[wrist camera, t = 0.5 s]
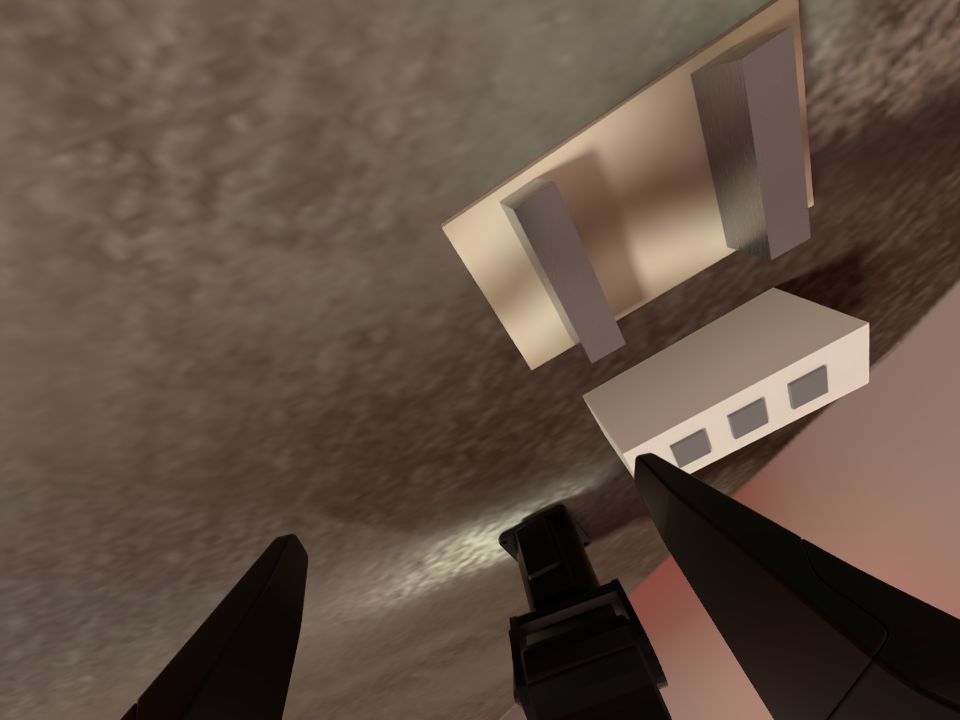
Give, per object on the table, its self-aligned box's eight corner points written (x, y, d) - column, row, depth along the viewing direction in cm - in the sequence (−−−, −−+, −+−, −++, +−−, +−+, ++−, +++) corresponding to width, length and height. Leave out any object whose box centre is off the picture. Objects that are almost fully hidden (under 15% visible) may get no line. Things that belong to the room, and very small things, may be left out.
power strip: (779, 337, 26) (872, 384, 21) (603, 433, 28) (647, 498, 23) (771, 286, 24) (873, 324, 19) (581, 394, 26) (624, 456, 21)
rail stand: (797, 202, 21) (871, 212, 18) (527, 362, 24) (546, 397, 20) (777, -4, 16) (873, -46, 13) (440, 224, 19) (446, 239, 15)
